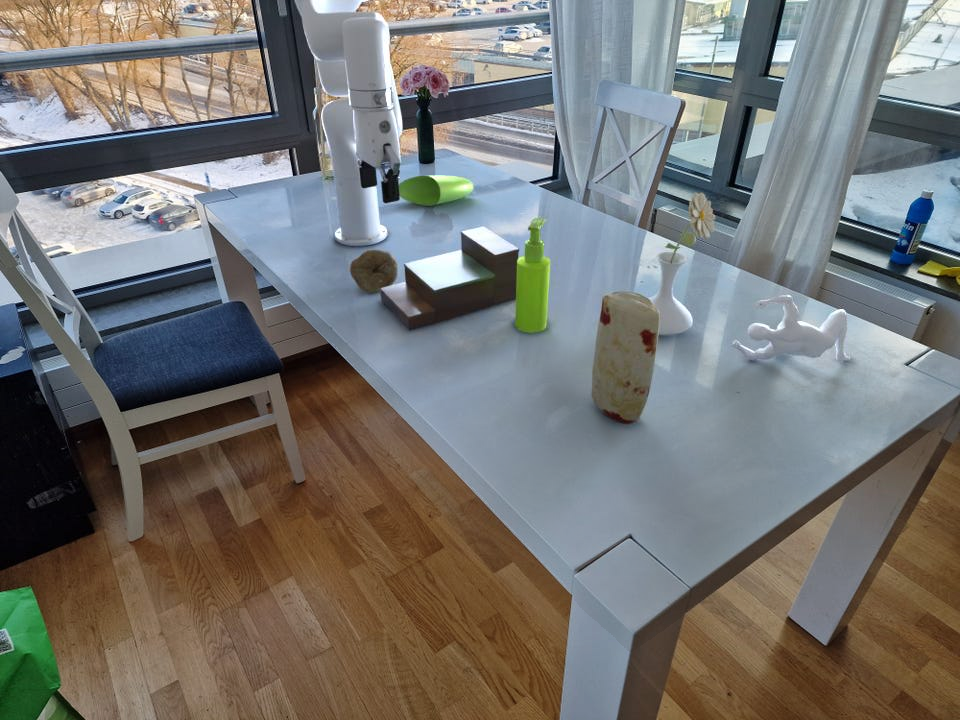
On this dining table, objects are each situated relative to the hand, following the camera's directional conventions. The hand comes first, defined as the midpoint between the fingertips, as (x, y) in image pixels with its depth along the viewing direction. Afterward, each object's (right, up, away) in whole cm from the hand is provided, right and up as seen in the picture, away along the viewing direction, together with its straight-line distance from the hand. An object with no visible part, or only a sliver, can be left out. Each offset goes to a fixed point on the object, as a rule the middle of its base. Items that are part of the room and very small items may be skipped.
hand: (380, 194), depth 119 cm
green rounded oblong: (+8, +12, +55) cm, 57 cm away
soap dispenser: (+29, -25, 0) cm, 38 cm away
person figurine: (+72, -32, -11) cm, 79 cm away
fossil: (-3, -16, +14) cm, 21 cm away
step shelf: (+13, -19, +8) cm, 24 cm away
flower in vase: (+53, -25, -1) cm, 59 cm away
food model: (+40, -40, -23) cm, 61 cm away
